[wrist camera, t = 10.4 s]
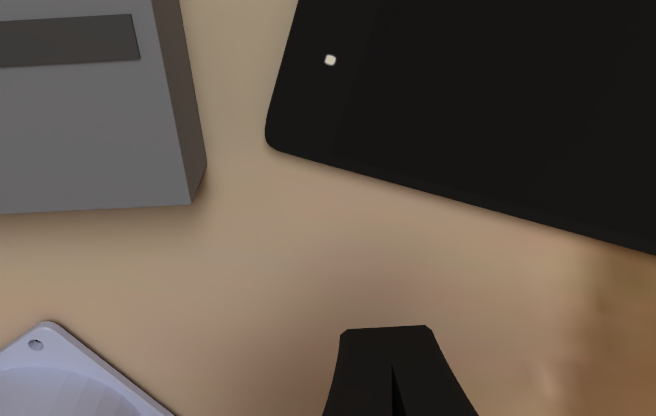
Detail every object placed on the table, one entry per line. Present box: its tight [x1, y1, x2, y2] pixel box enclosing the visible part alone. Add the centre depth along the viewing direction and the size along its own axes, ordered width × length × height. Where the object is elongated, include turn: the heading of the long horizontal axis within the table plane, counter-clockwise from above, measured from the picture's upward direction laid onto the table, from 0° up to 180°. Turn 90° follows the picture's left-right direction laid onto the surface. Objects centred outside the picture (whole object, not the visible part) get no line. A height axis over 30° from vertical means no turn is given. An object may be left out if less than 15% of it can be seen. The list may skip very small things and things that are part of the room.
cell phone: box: [265, 0, 656, 255], centre depth 17 cm, size 9×18×1 cm, turn 73°
